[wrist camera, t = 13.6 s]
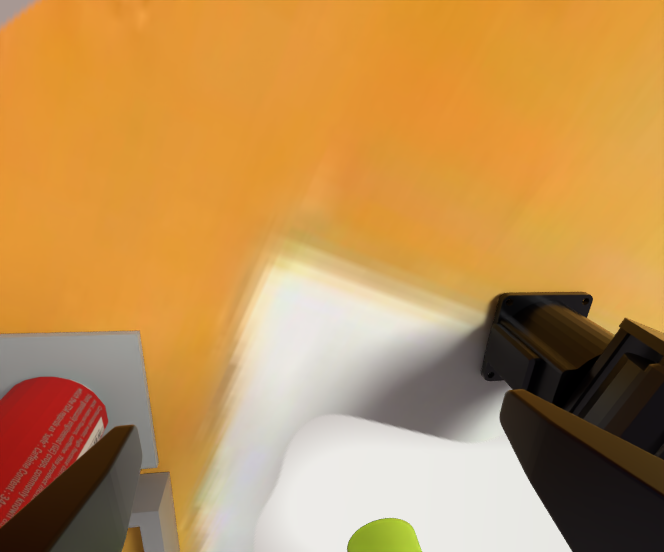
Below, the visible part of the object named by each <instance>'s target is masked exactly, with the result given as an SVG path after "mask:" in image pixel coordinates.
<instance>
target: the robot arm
mask: <svg viewBox="0 0 664 552" xmlns="http://www.w3.org/2000/svg"><path fill="white" fill-rule="evenodd" d="M508 299H510V300H509V302H508V303H506V301H507V300H508ZM583 300H584V301H583ZM592 301H593V298H592V296H591V295H589V294H588V293H586V292H534V293H504V294H503V295H501V297H500V298H499V301H498V305H497V309H496V313H495V317H494V321H493V325H492V327H491V332H490V336H489V340H488V344H487V348H486V352H485V356H484V362H483V367H482V371H481V375H482V376H483V378H484V379H485V380H487V381H501V380H505V382H506V383H507V384H508V385H509V386H510V387H511V388H512V389H513V390H509V391H507V392H506V393H505V396H504V400H503V403H502V407H501V411H500V422H501V425H502V427H503V429H504V431H505V433H506V435H507V437H508V439H509V441H510V443H511V445H512V448H513V449H514V452H515V454H516V455H517V458H518V460H519V462H520V464H521V465H522V468H523V470H524V472H525V474H526V475H527V477H528V479H529V481H530V483H531V484H532V486H533V488H534V489H535V491H536V493H537V495H538V496H539V498H540V499H541V501H542V503H543V504H544V506H545V508H546V509H547V511H548V513H549V514H550V516H551V517H552V519H553V521H554V522H555V524H556V526H557V527H558V529H559V531H560V532H561V534H562V535H563V537H564V539H565V540H566V542H567V544H568V545H569V547H570V549H571V550H572V552H664V333H662V332H659V331H657V330H654V329H652V328H650V327H647V326H645V325H642V324H640V323H637V322H635V321H632V320H630V319H628V318H624V320H623V321H622V323H621V324H620V325H619V327H620V329H619V330H618V332H617V333H616V334H615V335H614V334H612V333H610V332H609V331H607V330H605V329H604V328H602V327H601V326H599V325H597V324H596V323H594V322H592V321H591V320H589V319H588V318H587V316H588V313H589V310H590V307H591V304H592ZM490 372H491V373H490ZM488 373H490V374H488ZM142 457H143V454H142V448H141V443H140V438H139V433H138V428H137V427H136V425H133V424H131V425H120V426H116V427H114V428H112V429H111V430H110V431H109V432H108V433H107V434H106V435H104V436H103V437H102V438H101V439H100V440H99V441H98V442H97V443H95V444H94V445H93V446H92V447H91V448H90V449H89V450H88V451H86V452H85V453H84V454H83V455H82V456H81V457H80V458H78V459H77V460H76V461H75V462H74V463H73V464H72V465H71V466H69V467H68V468H67V469H66V470H65V471H64V472H63V473H62V474H60V475H59V476H58V477H57V478H56V479H55V480H54V481H53V482H51V483H50V484H49V485H48V486H47V487H46V488H45V489H43V490H42V491H41V492H40V493H39V494H38V495H37V496H36V497H34V498H33V499H32V500H31V501H30V502H29V503H28V504H27V505H25V506H24V507H23V508H22V509H21V510H20V511H19V512H17V513H16V514H15V515H14V516H13V517H12V518H11V519H10V520H8V521H7V522H6V523H5V524H4V525H3V526H2V527H1V528H0V552H122V548H123V545H124V542H125V538H126V535H127V530H128V526H129V522H130V517H131V512H132V507H133V503H134V498H135V493H136V489H137V484H138V479H139V475H140V470H141V465H142Z"/></svg>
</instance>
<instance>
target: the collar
mask: <svg viewBox="0 0 664 552" xmlns="http://www.w3.org/2000/svg"><path fill="white" fill-rule="evenodd" d="M131 527H140V531H141V537H142V542H143V547H144V552H180V548H179V541H178V533H177V525H176V518H175V510H174V503H173V495H172V488H171V480H170V472H162V473H150V474H140V475H139V479H138V484H137V489H136V493H135V498H134V503H133V507H132V512H131V517H130V522H129V526H128V528H131Z"/></svg>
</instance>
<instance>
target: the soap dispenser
mask: <svg viewBox="0 0 664 552" xmlns="http://www.w3.org/2000/svg"><path fill="white" fill-rule="evenodd" d="M347 551H348V552H422V551H421V548H420V545H419V542H418V539H417V536H416V534H415V531H414V529H413V527H412V526H411V525H410V524H409V523H408V522H406V521H403V520H401V519H396V518H385V519H379V520H376V521H373V522H370V523H368V524H366V525H364V526H363V527H361V528H360V529H358V530H357V531H356V532H355V533H354V534H353V535H352V537H351V539H350V540H349V542H348V546H347Z"/></svg>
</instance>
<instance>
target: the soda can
mask: <svg viewBox="0 0 664 552" xmlns="http://www.w3.org/2000/svg"><path fill="white" fill-rule="evenodd" d="M107 424H108V417H107V412H106V407H105V405H104V404H103V403H102V401H101V400H100V399H99V398H98V397H97V395H96V394H95V393H94V392H93V391H92V390H91V389H90V388H88V387H87V386H85V385H83V384H81V383H79V382H76V381H74V380H71V379H66V378H60V377H37V378H32V379H28V380H24V381H22V382H20V383H18V384H16V385H15V386H14V387H13V388H12V389H11V390H10V391H9V392H8V393H7V394H6V395H5V396H4V397H3V398H2V399H1V400H0V528H1V527H2V526H3V525H4V524H5V523H6V522H7V521H8V520H10V519H11V518H12V517H13V516H14V515H15V514H16V513H17V512H19V511H20V510H21V509H22V508H23V507H24V506H25V505H27V504H28V503H29V502H30V501H31V500H32V499H33V498H34V497H36V496H37V495H38V494H39V493H40V492H41V491H42V490H43V489H45V488H46V487H47V486H48V485H49V484H50V483H51V482H53V481H54V480H55V479H56V478H57V477H58V476H59V475H60V474H62V473H63V472H64V471H65V470H66V469H67V468H68V467H69V466H71V465H72V464H73V463H74V462H75V461H76V460H77V459H78V458H80V457H81V456H82V455H83V454H84V453H85V452H86V451H88V450H89V449H90V448H91V447H92V446H93V445H94V444H95V443H97V442H98V441H99V440H100V439H101V437H102V435H103V433H104V431H105V428H106V426H107Z"/></svg>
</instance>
